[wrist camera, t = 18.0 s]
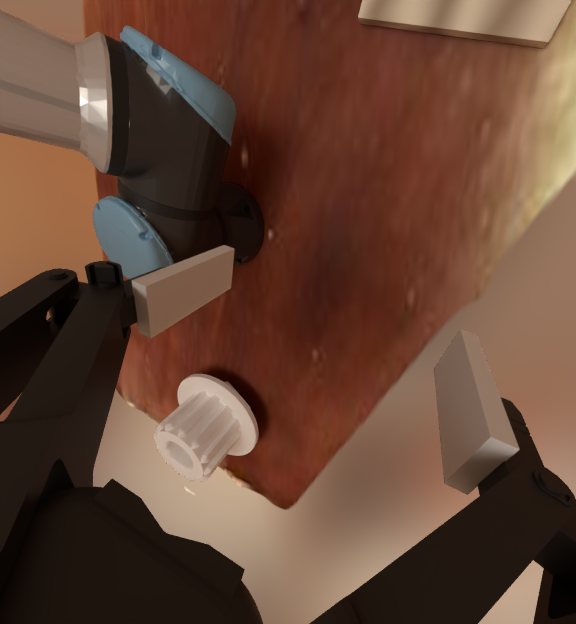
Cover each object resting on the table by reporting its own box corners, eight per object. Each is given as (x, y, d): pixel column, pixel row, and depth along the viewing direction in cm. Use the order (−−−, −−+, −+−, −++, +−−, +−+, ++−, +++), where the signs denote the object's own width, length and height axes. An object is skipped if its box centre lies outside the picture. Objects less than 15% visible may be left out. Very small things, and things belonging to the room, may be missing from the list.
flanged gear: (183, 383, 82) (126, 429, 67) (222, 346, 68) (160, 393, 52) (237, 444, 82) (192, 504, 67) (287, 420, 68) (245, 490, 52)
